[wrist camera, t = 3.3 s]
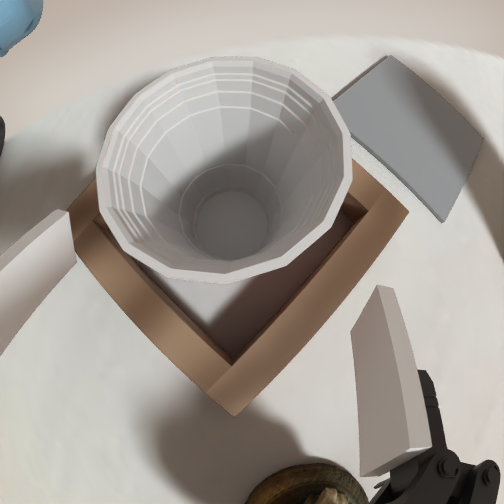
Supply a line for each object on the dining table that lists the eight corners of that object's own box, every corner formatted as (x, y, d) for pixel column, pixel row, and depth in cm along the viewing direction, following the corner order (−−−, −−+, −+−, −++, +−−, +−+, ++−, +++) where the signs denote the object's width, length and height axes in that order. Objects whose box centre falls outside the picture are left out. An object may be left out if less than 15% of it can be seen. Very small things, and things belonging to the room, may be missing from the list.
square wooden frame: (73, 233, 22) (55, 223, 19) (228, 90, 25) (227, 68, 22) (235, 403, 20) (234, 417, 17) (392, 222, 23) (409, 211, 20)
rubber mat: (321, 113, 25) (322, 110, 24) (389, 57, 27) (390, 55, 27) (441, 223, 23) (444, 221, 23) (481, 140, 25) (483, 138, 25)
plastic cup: (159, 169, 23) (106, 70, 11) (289, 157, 24) (321, 49, 12) (163, 303, 21) (79, 293, 9) (308, 289, 22) (379, 266, 10)
